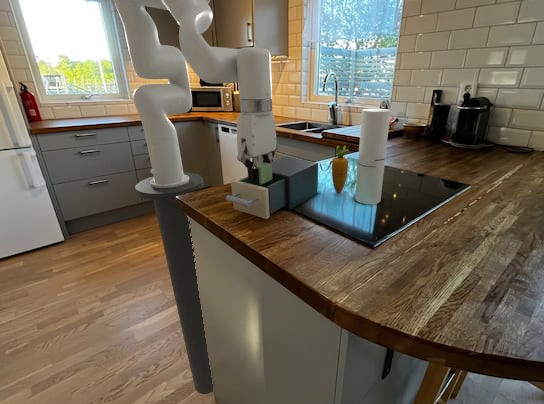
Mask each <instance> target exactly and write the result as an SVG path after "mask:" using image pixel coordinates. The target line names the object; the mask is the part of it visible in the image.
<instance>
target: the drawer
mask: <svg viewBox="0 0 544 404" xmlns="http://www.w3.org/2000/svg"><path fill="white" fill-rule="evenodd" d="M230 185H231V195H230V194H228V195H226V196H225V200H226V201H227V202H230V203H232V205H233V209H234V210H237V211H240V212H243V213H247V214H248V215H252V216H255V217H259V218H261V219H265V220H268V219H269V218H271V217H270V215H271V214H273V213H275V212H276V211H278V210H280V209H282V207H283V206H285V205H287V204H288V189H287V178H282V177H278V176H273V175H272V180H271V181H268V182H266V183H264V184H254V183H250V182H249V181H248V176H246V177H244V178H240V179H239V180H236V179H233V180H231V181H230Z"/></svg>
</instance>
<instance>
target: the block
mask: <svg viewBox="0 0 544 404" xmlns="http://www.w3.org/2000/svg"><path fill="white" fill-rule="evenodd" d="M256 168H258V171H259V184H264V183H266V182H268V181H271V180H272V164H271V163H266V162H263V161H262V160H261V161H260V160H257V167H256Z"/></svg>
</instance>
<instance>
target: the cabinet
mask: <svg viewBox="0 0 544 404" xmlns="http://www.w3.org/2000/svg"><path fill="white" fill-rule="evenodd" d="M271 164H272V175H273V176H278V177H282V178H287V189H288V204H287V205H285V206H283V207H282V208H283V209H285V210H289V211H291V210H292V209H294V208H296V207H297V206H299V205H300V204H302V203H304V202H305V201H308V200H310V198H312V197H314V196H315V195H318V193H319V192H318V191H319V186H318V185H319V162H315V161H309V160H304V159H297V158H292V157H286V156H283V157H280V158H278V159H275V160H273V162H272V163H271ZM282 208H281V209H282Z"/></svg>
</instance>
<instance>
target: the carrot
mask: <svg viewBox="0 0 544 404" xmlns="http://www.w3.org/2000/svg"><path fill="white" fill-rule="evenodd" d="M335 149H336V154H337V156H336V157H333V158H332V159H331V178H332V184H333V185H332V186H333V188H334V191H335V193H336V194H337V195H340V194H341V193H342V191H343V190H344V187H345V186H346V181H347V177H348V170H349V159H348V158H347V157H345V155H346V154H347V153H348V152H349V151H350V150H349V149H347V146H346V145H343V147H342V150H341V147H340V145H337V146H336V148H335Z"/></svg>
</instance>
